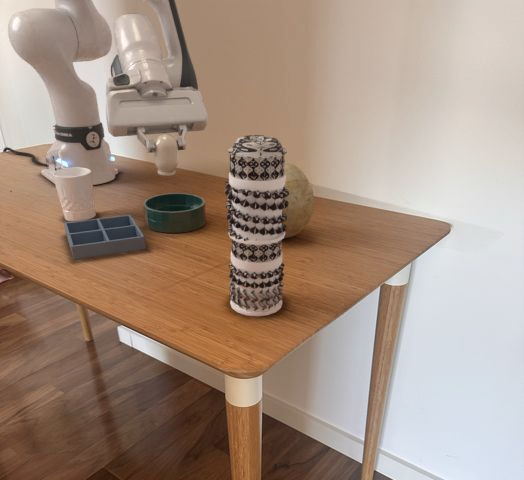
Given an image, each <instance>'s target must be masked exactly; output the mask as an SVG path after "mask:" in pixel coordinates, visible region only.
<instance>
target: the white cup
mask: <svg viewBox="0 0 524 480" xmlns="http://www.w3.org/2000/svg"><path fill="white" fill-rule="evenodd" d="M52 174H53V178H54V182H55V184H54V185H55V189H56V194H57V196H58V200H59V203H60V207H61V208H62V213H63V217H64V219H65V220H66V221H67V222H75V221H83V220H91V219H94V217H96V216H97V213H96V201H95V192H94V185H93V183H92V175H91V170H90V169H87V168H80V167H73V168H64V169H59V170H56V171H54V172H53V173H52Z"/></svg>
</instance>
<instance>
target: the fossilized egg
mask: <svg viewBox="0 0 524 480" xmlns="http://www.w3.org/2000/svg"><path fill="white" fill-rule="evenodd" d="M284 173H285V174H286V178H285V185H284V187H285V188H286V189H287V190H288V191H289V195H288V196H287V197H285V198H283V199H285V200H287V201H288V202H289V204H288V207H286V208H284V209H282V211H283V213H284V214H286V215H287V220H286V221H284V222H283V224H284V225H286V226H287V228H286V231H285V236H284V238H283V239H289V238H292V237H294V236H297V235H298V234H300V233H301V232H302V231H303V230H304V229H305V228H306V227H307V225H308V224H309V223H310V221H311V219H312V217H313V213H314V208H315V196H314V191H313V188H312V185H311V183H310V181H309V179H308V177H307V175H305V173H304V172H303V171H302V170H301V169H300V168H299V167H298V166H297V165H296V164H294V163H292V162H289V161H285V166H284ZM284 187H283V188H284Z"/></svg>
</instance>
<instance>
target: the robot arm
mask: <svg viewBox="0 0 524 480" xmlns="http://www.w3.org/2000/svg"><path fill="white" fill-rule="evenodd" d="M142 1H143V2H144V3H146V4H147V5H149V6H150V7H151V8H152V9H153V11H154V13H156V16H157V18H158V21H159V25H160V27H161V32H162V35H163V40H164V43H165V46H166V50H167V53H168V55H167V57H165V58H163V51H162V48H161V45H160V42H159V38H158V36H157V34H156V31H155V29H154V27H153V24H152V22H151V21H150V19H149V18H148V17H147V16H146V15H144V14H143V13H137V12H132V13H131V12H130V13H124V14H122V15H120V16H118V17H117V18H116V19H115V20H114V24H113V35H114V42H115V48H116V55H115V56H114V58H113V60H112V63H111V65H110V74H111V76H110V77H108V78H107V80H106V85H105V97H106V98H105V118H106V119H105V120H106V126H107V132H108V134H110V135H111V136H112V137H114V138H118V137H130V136H131V137H132V136H136V138H137V140H138V141H139V142H140V143H141V144H142V145H143V146H144V147H145V150H146V153H147V154H150V153H151V154H153V153H154V152H155V145H154V141H155V140H154V139H149V138H148V137H147V136H146V135H161V134H170V133H171V134H173V133H177V134H178V136H179V137H177V138H176V141H177V143H178V151H185V150H186V148H187V143H186V140H185V139H186V135H187V132H198V131H199V132H200V131H204V130H205V129H206V127H207V125H208V123H209V114H208V111H207V108H206V105H205V103H204V99H203V95H202V93H201V91H200V90H199V81H198V77H197V73H196V70H195V67H194V64H193V61H192V59H191V55H190V53H189V48H188V46H187V42H186V41H187V40H186V37H185V34H184V29H183V25H182V22H181V18H180V15H179V9H178V7H177V4H176V0H142ZM54 4H55V8H41V7H40V8H37V7H36V8H35V7H33V8H28V9H23V10H20V11H17V12H14V13H13V14H12V15H11V16H10V18H9V21H8V25H7V35H8V39H9V42H10V45H11V47H12V49H13V51H14V52H15V54H16V55H17V56H18V57H19V58H20V59H21V60H22V61H24V62H26V63H27V64H28V65H30V67H32V68H33V69H34V71H35V72H36V73H37V74H38V75H39V77H40V79H41V80H42V82H43V84H44V86H45V88H46V90H47V93H48V95H49V99H50V103H51V106H52V111H53V115H54V116H53V117H54V121H55V124H54V125H52V127H54V128H53V131H54V138H55V141H54V142H53V144H52V145H51V147H50V148H49V149H48V150H47V152H46V156H45V157H44V160H45V163H43V162H40V161H39V160H36V159H35V158H36V157H35V154H33V153H30V152H24V151H17V150H14V149H13V148H11V147H8V146H6V147H4V148H3V150H2V152H3V153H7V151H9V152H11V153H13V154H15V155H20V156H26V157H27V156H28V157H30V159H31V162H33V164H34V163H35V164H37V165H38V166H42V167H46V168H44V169H42V170H40V173H41V176H43V177H45V178H46V179H47V180H48V181H50V182H51V183H53V184H54V185H55V182H54V178H53V174H52V173H53V172H54V171H56V170H59V169H64V168H73V167H80V168H87V169H90V170H91V175H92V183H93V186H95V185H100V184H101V185H102V184H105V183H109V182H112V181H113V180H115V179H116V175H118V174H119V169H118V168H115V165H114V162H115V157H114V156H112V152H111V147H110V144H109V143H108V142H107V141H106V140H105V139H104V138H105V129H104V126H103V123H102V122H101V116H100V109H99V104H98V98H97V93H96V91H95V89H94V88H93V86H92V85H91V84H89V83H88V82H86V81H84V80H82V79H81V78H80V77H79V75H78V74H77V72H76V69H75V67H74V63H81V62H83V63H84V62H92V61H96V60H98V59H100V58H104V57H106V56H107V55H108V54H109V53H110V51H111V49H112V44H113V36H112V29H111V27H110V25H109V23H108V21H107V20H106V18H105V17H104V16H103V15H102V14H101V13H100V11H99V10H98V9H97V7H96V6H95V4H94V2H93V0H54Z"/></svg>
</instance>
